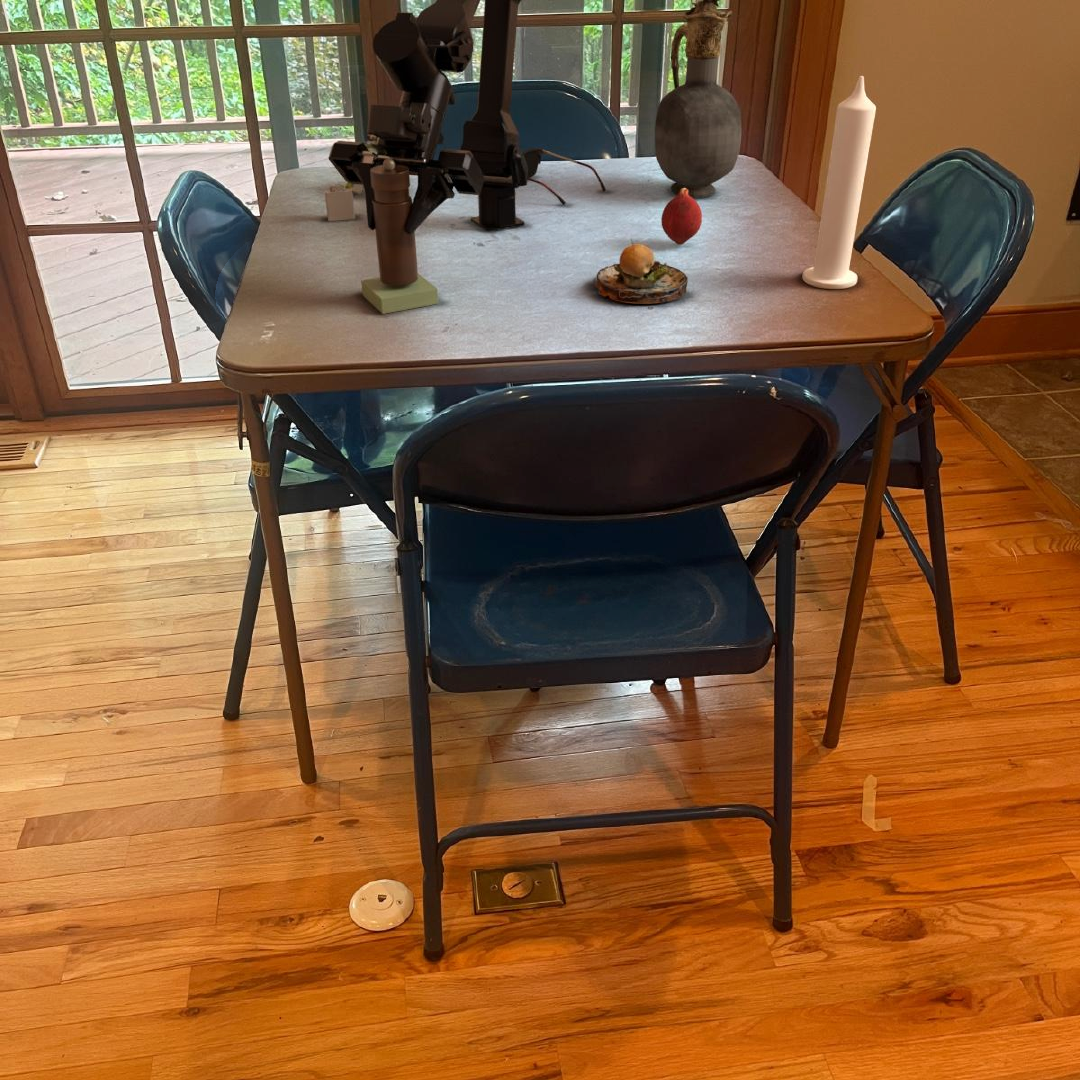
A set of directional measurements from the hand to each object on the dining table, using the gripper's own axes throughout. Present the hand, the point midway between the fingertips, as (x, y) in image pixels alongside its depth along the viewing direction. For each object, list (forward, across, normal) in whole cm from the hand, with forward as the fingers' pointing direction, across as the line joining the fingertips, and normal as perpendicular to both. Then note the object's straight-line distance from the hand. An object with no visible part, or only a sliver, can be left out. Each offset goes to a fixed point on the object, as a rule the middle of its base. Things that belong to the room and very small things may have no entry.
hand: (389, 230), depth 122 cm
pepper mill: (+4, 0, +6) cm, 7 cm away
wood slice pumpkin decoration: (-4, +28, +17) cm, 33 cm away
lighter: (-15, -23, +29) cm, 40 cm away
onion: (-17, +29, +31) cm, 46 cm away
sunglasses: (-33, +2, +47) cm, 57 cm away
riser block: (+6, 0, +7) cm, 9 cm away
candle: (-11, +51, +25) cm, 58 cm away
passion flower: (-26, -25, +40) cm, 54 cm away
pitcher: (-38, +24, +52) cm, 69 cm away
